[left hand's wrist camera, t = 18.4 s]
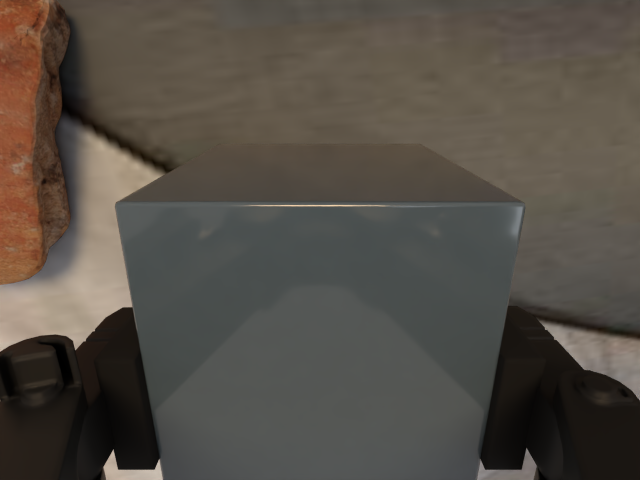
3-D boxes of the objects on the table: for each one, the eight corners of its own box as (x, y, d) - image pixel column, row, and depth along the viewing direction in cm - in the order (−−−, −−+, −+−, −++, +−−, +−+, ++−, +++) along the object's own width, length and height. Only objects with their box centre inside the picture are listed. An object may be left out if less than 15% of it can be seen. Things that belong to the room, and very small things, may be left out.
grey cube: (421, 143, 14) (528, 202, 7) (404, 353, 17) (466, 547, 10) (217, 143, 14) (111, 202, 7) (235, 353, 17) (173, 548, 10)
